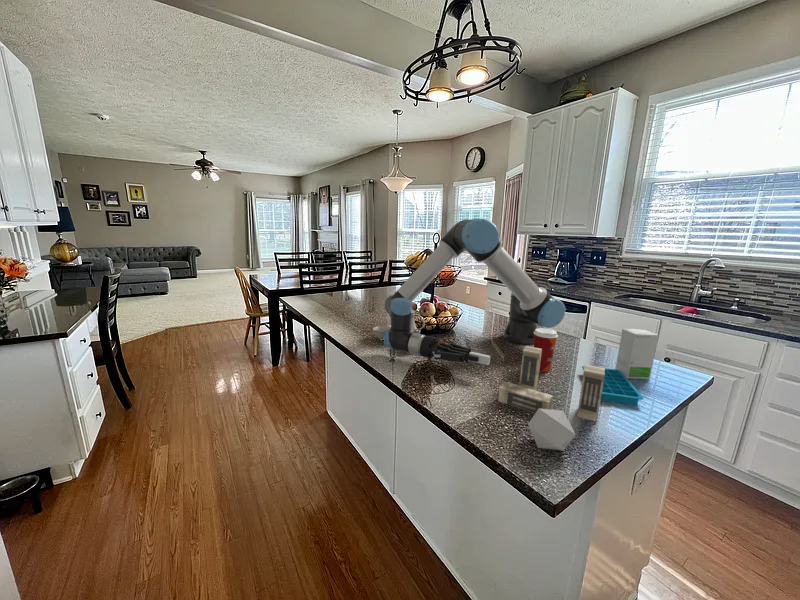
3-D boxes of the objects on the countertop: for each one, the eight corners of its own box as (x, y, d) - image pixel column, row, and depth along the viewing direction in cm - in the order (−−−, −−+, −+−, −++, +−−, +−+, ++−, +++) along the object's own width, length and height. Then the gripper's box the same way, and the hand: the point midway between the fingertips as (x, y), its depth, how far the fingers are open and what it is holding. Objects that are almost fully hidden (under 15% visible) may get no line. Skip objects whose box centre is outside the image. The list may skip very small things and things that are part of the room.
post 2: (505, 381, 95) (552, 395, 87) (503, 395, 96) (550, 410, 88) (499, 387, 91) (548, 403, 84) (497, 402, 92) (546, 418, 85)
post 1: (521, 385, 102) (526, 345, 99) (537, 388, 100) (541, 348, 97) (518, 391, 98) (522, 350, 95) (534, 395, 96) (539, 353, 93)
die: (562, 467, 68) (589, 428, 68) (524, 439, 69) (551, 401, 70) (550, 455, 76) (574, 419, 76) (516, 430, 78) (540, 395, 78)
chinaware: (365, 344, 141) (362, 307, 136) (389, 331, 153) (387, 297, 148) (420, 360, 124) (419, 319, 119) (441, 344, 137) (441, 306, 132)
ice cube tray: (618, 378, 109) (619, 369, 108) (643, 409, 90) (645, 399, 90) (579, 373, 112) (581, 365, 112) (596, 402, 93) (597, 392, 93)
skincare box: (625, 379, 108) (634, 334, 104) (613, 370, 114) (620, 328, 111) (651, 379, 108) (660, 334, 104) (637, 371, 114) (645, 328, 111)
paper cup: (555, 374, 110) (561, 335, 107) (531, 372, 112) (536, 333, 109) (550, 365, 118) (554, 328, 115) (527, 363, 119) (531, 326, 116)
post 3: (578, 408, 89) (584, 364, 86) (597, 413, 87) (604, 368, 84) (577, 417, 85) (583, 370, 82) (596, 422, 83) (604, 375, 80)
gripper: (431, 350, 122) (494, 364, 110) (414, 361, 111) (482, 379, 99) (432, 331, 121) (495, 343, 109) (415, 340, 110) (484, 355, 98)
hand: (489, 360), depth 104 cm, fingers closed
